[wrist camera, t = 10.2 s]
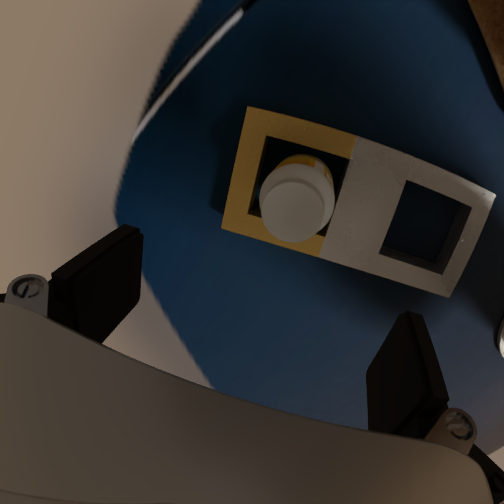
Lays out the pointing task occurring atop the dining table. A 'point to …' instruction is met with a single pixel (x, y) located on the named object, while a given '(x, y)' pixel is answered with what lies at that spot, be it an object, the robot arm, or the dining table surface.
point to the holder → (359, 202)
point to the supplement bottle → (297, 198)
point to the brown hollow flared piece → (492, 30)
